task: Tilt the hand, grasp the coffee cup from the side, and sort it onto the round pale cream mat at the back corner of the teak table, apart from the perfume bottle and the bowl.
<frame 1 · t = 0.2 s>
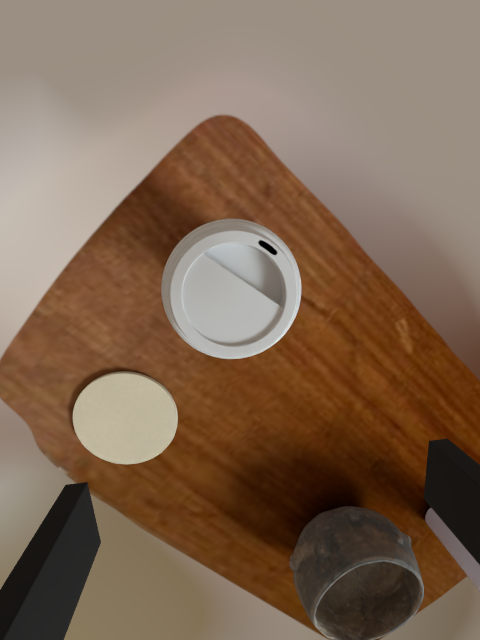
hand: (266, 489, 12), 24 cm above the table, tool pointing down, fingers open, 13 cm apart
coffee cup: (225, 275, 33), on the table
bowl: (335, 522, 43), on the table
perfume bottle: (435, 509, 44), on the table
cream mat: (127, 417, 36), on the table
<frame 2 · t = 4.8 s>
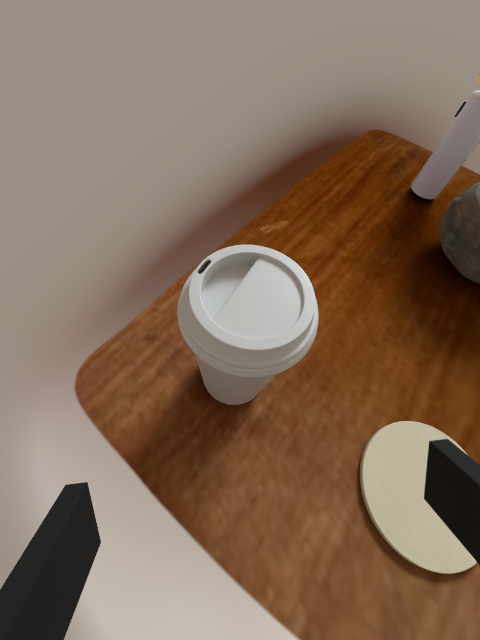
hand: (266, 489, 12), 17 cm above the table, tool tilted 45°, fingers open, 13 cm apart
coffee cup: (233, 374, 32), on the table
bowl: (465, 263, 44), on the table
perfume bottle: (420, 194, 51), on the table
cream mat: (422, 489, 28), on the table
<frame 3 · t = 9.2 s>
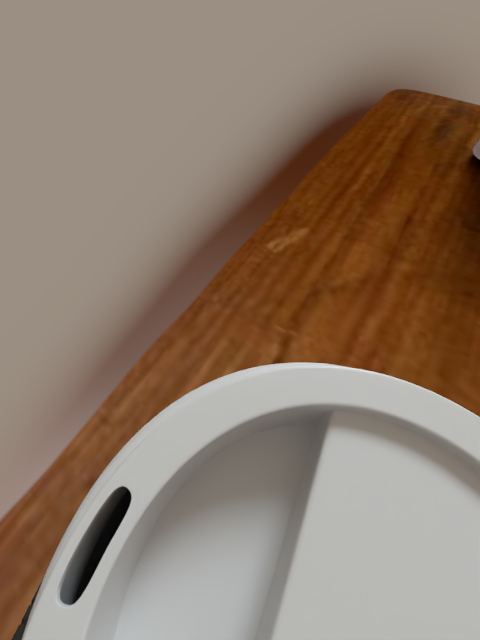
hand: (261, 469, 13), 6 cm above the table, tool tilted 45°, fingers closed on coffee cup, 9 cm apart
coffee cup: (262, 544, 16), on the table, touching gripper
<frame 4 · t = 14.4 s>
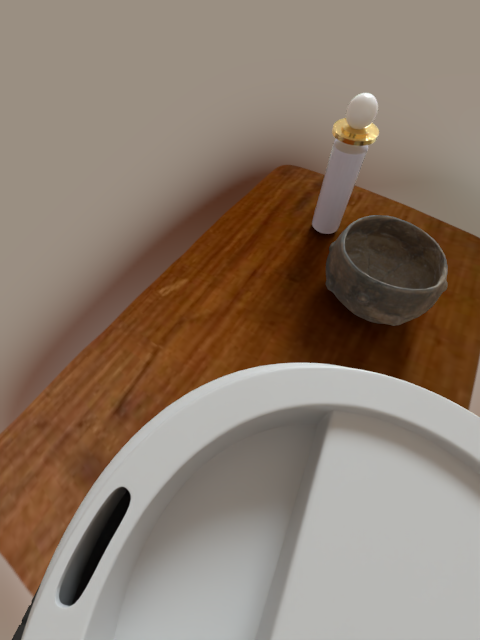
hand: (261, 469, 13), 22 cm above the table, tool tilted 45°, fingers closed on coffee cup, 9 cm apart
coffee cup: (262, 544, 16), point 16 cm above the table, touching gripper
bowl: (362, 296, 45), on the table
perfume bottle: (323, 228, 52), on the table
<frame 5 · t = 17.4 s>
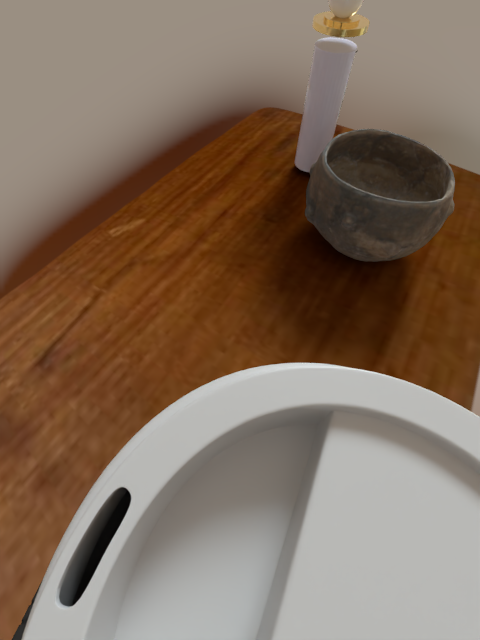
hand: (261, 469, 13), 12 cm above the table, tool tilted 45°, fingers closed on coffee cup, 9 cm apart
coffee cup: (262, 544, 16), point 6 cm above the table, touching gripper
bowl: (351, 238, 38), on the table
perfume bottle: (308, 169, 45), on the table
when the fingers open (6 cm above the table, at t = 19.6 s): coffee cup stays where it is, resting on cream mat.
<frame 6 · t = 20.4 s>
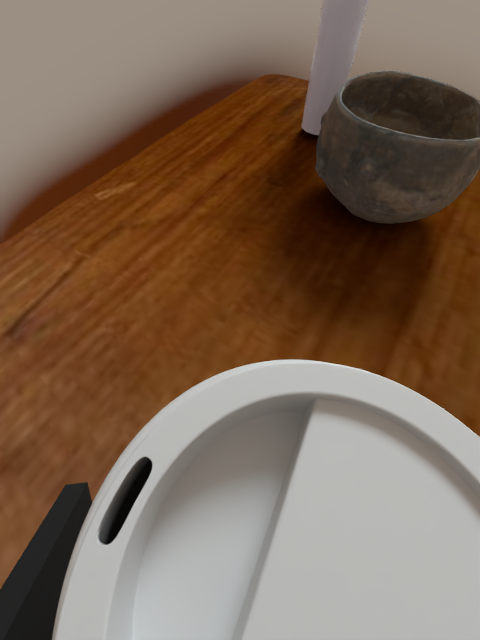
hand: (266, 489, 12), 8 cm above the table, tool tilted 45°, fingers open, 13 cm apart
coffee cup: (260, 531, 17), resting on cream mat
bowl: (366, 202, 34), on the table
perfume bottle: (316, 133, 41), on the table
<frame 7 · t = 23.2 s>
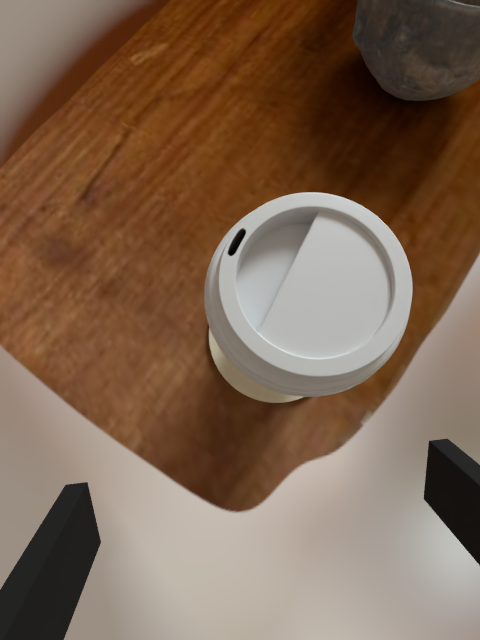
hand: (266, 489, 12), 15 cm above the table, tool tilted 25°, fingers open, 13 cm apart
coffee cup: (275, 334, 27), resting on cream mat
bowl: (399, 74, 33), on the table
cream mat: (274, 334, 28), on the table
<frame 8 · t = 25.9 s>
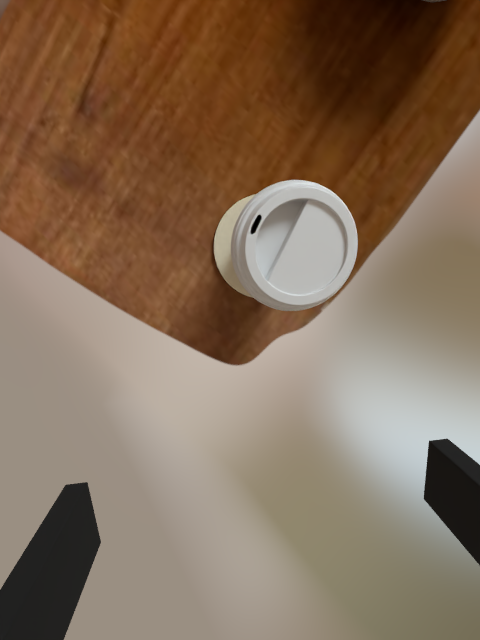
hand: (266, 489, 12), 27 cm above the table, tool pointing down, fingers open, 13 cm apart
coffee cup: (264, 248, 35), resting on cream mat
cream mat: (264, 248, 36), on the table
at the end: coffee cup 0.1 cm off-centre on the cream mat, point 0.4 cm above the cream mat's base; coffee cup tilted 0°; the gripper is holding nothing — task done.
